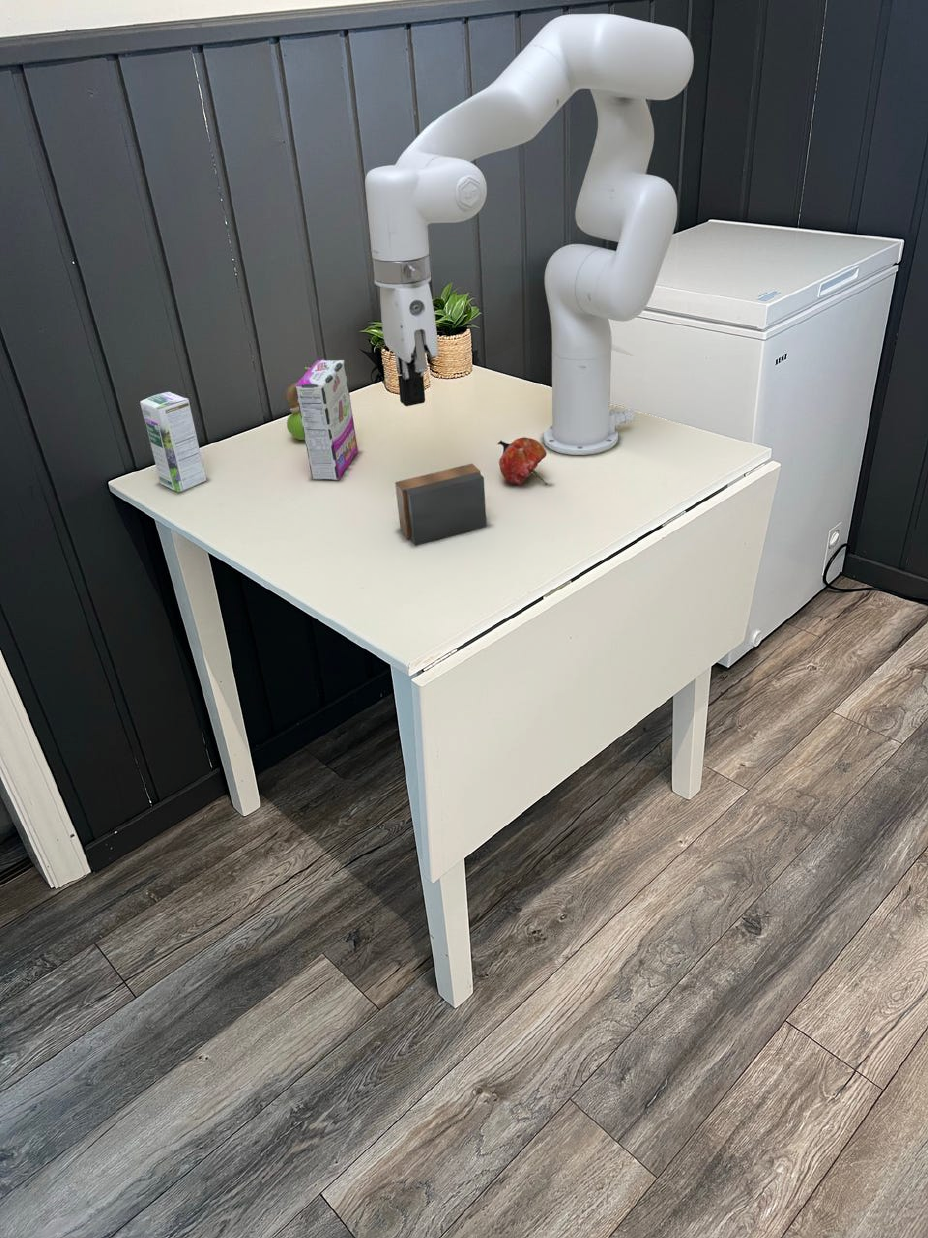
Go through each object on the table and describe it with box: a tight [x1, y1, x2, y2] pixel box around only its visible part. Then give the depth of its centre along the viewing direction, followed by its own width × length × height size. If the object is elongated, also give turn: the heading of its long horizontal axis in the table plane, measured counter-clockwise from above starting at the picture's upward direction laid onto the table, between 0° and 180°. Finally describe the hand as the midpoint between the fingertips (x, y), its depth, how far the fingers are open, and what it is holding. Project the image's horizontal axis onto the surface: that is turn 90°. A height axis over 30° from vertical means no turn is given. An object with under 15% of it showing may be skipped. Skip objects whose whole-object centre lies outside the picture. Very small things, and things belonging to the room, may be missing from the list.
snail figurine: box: [285, 366, 311, 441], centre depth 165 cm, size 5×6×12 cm
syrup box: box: [139, 391, 207, 493], centre depth 152 cm, size 6×6×14 cm
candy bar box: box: [295, 359, 359, 481], centre depth 154 cm, size 11×5×16 cm, turn 168°
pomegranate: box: [497, 436, 548, 486], centre depth 148 cm, size 7×7×10 cm
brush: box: [394, 463, 487, 546], centre depth 136 cm, size 12×5×8 cm, turn 113°
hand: (412, 402), depth 135 cm, fingers closed
